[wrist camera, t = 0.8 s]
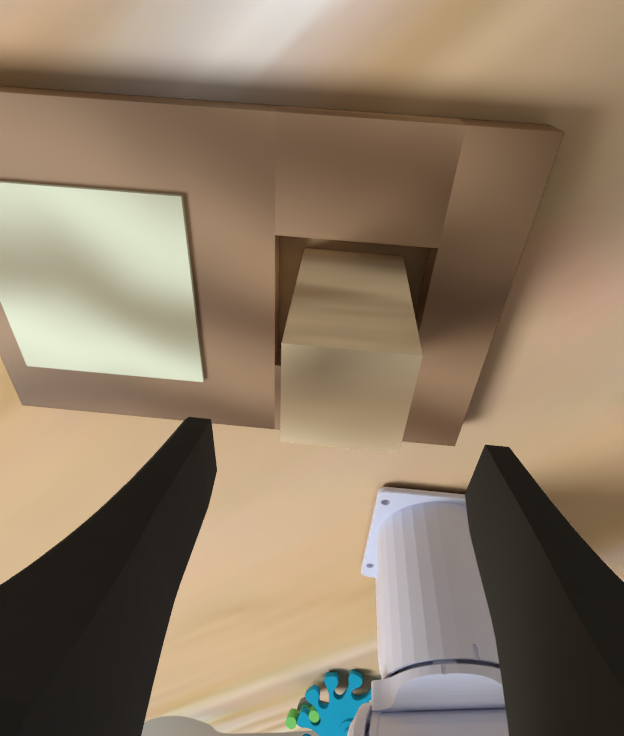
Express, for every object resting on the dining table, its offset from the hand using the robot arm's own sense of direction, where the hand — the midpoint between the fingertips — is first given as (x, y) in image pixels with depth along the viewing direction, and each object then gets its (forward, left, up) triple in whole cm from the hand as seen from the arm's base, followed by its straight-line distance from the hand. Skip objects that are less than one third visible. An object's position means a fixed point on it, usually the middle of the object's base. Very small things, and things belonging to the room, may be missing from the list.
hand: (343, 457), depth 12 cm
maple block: (0, 0, -9) cm, 9 cm away
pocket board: (0, +5, -9) cm, 10 cm away
